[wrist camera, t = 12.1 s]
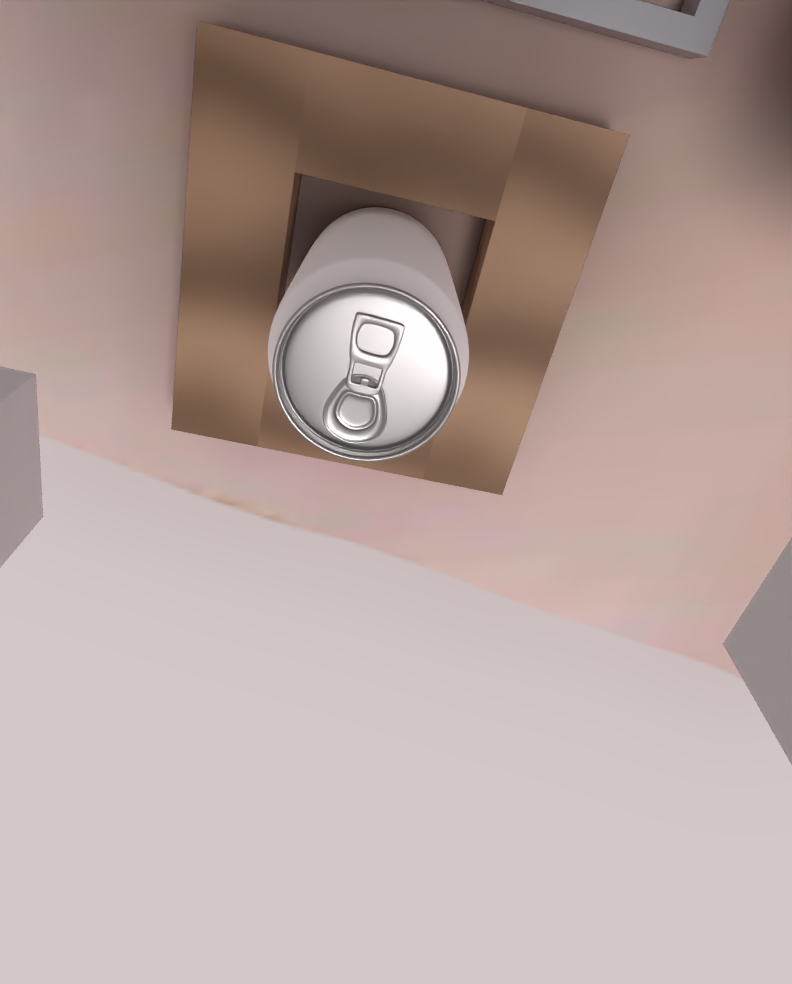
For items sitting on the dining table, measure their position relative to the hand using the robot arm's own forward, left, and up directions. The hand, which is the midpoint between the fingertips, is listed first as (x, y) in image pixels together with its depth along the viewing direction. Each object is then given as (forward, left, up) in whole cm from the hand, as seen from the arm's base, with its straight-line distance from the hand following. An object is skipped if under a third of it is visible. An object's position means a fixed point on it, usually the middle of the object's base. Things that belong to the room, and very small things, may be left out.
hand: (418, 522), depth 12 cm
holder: (+1, -1, -21) cm, 21 cm away
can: (+1, -1, -21) cm, 21 cm away
